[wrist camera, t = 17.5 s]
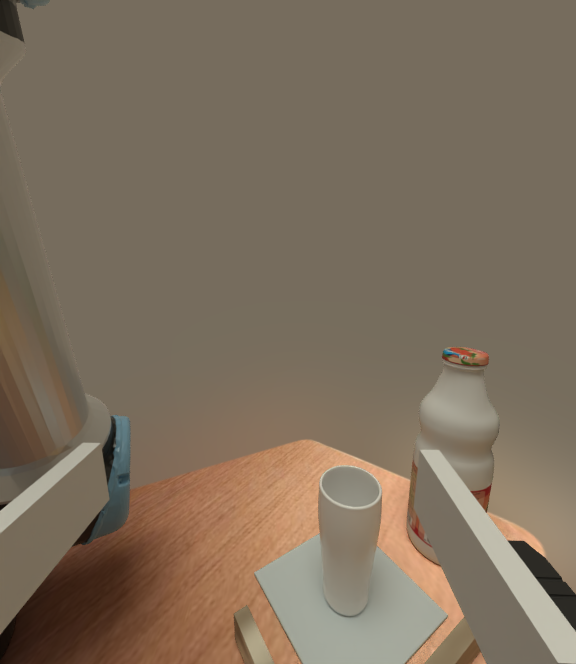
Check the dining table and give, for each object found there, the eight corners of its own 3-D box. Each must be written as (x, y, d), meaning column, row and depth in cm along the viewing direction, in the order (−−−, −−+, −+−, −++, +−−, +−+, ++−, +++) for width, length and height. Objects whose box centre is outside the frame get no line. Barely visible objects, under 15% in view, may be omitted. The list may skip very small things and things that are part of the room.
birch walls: (235, 639, 32) (233, 613, 31) (384, 533, 44) (386, 513, 43) (323, 864, 20) (324, 831, 19) (494, 632, 32) (498, 607, 31)
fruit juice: (392, 519, 46) (408, 344, 40) (444, 508, 49) (466, 340, 43) (435, 580, 38) (463, 367, 31) (496, 562, 40) (534, 360, 34)
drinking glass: (371, 569, 38) (378, 467, 35) (378, 632, 32) (387, 513, 29) (318, 561, 40) (320, 461, 36) (314, 620, 33) (316, 504, 30)
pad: (254, 574, 38) (254, 572, 38) (347, 518, 47) (347, 516, 47) (340, 736, 25) (340, 733, 25) (447, 617, 34) (447, 615, 34)
